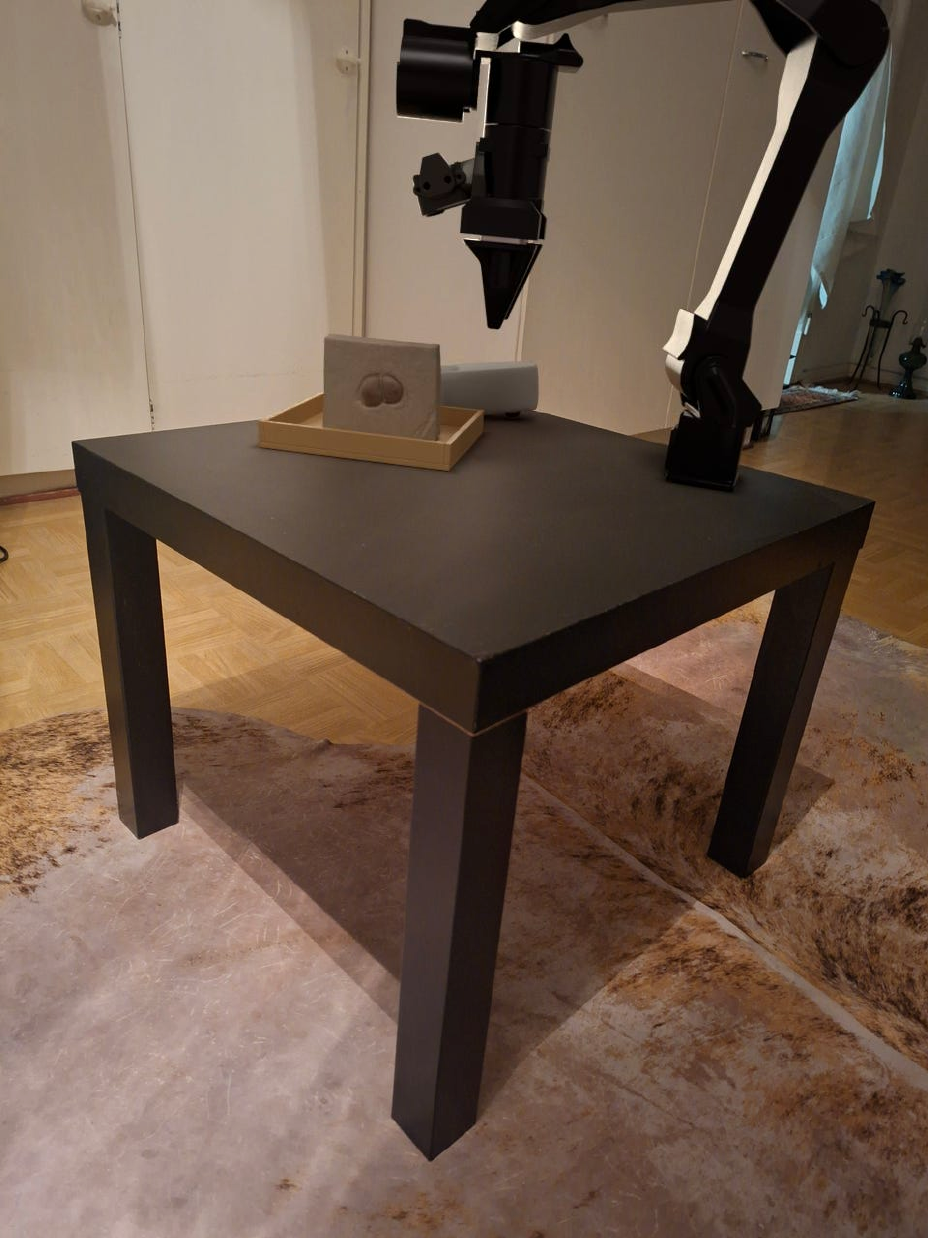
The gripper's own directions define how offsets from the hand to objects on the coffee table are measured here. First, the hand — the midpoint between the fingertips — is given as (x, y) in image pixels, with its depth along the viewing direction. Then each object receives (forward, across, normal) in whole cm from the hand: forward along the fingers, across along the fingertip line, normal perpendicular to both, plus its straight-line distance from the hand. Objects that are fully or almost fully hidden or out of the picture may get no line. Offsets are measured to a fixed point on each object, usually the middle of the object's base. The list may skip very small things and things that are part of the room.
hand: (498, 323), depth 77 cm
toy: (+13, -22, -3) cm, 26 cm away
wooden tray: (+13, -5, -12) cm, 19 cm away
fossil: (+13, -5, -12) cm, 18 cm away
